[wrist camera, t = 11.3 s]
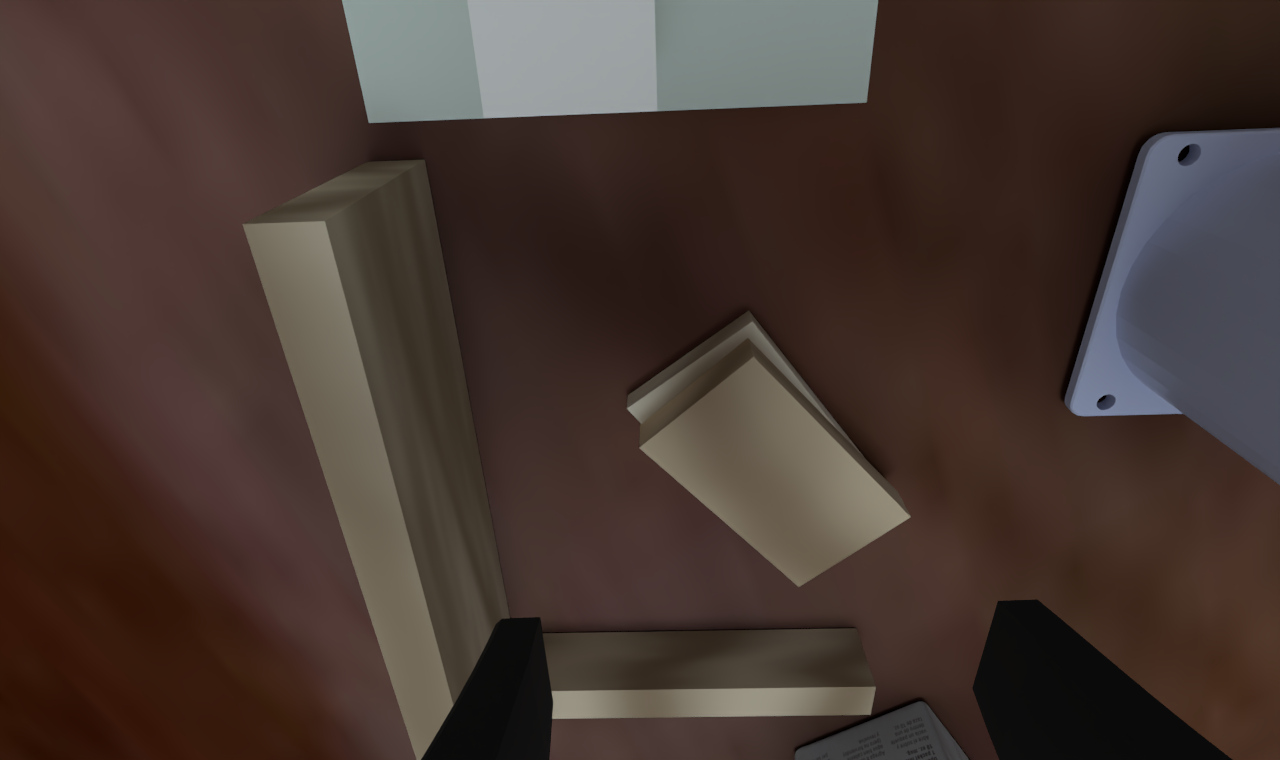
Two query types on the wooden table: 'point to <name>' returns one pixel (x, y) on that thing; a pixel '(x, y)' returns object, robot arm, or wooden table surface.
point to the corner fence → (469, 482)
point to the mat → (685, 55)
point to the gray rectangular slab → (564, 56)
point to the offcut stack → (764, 452)
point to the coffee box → (889, 739)
